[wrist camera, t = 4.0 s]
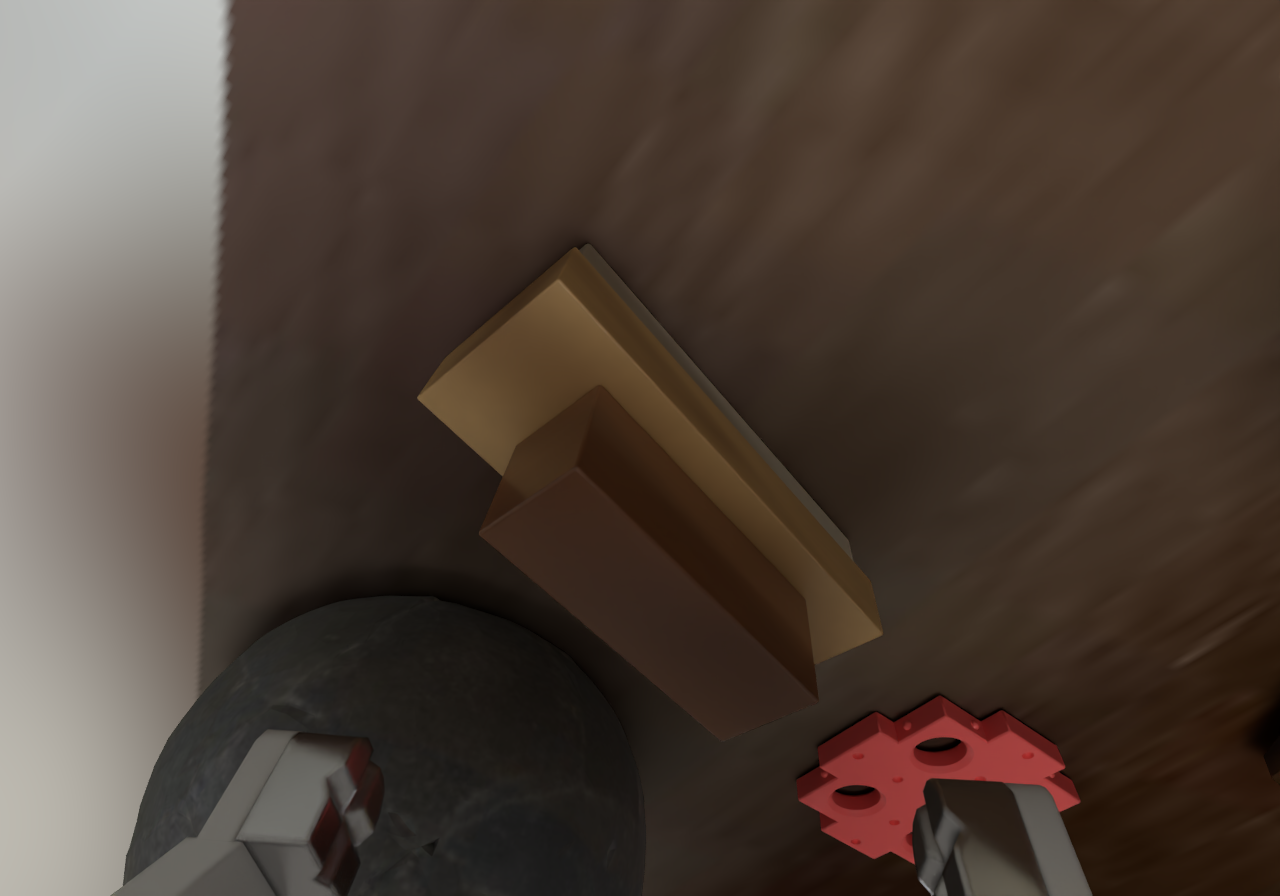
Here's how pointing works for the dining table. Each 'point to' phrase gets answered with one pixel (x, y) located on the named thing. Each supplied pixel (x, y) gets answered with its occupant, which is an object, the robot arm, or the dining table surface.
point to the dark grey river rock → (426, 751)
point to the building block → (921, 771)
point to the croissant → (1274, 760)
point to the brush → (650, 501)
